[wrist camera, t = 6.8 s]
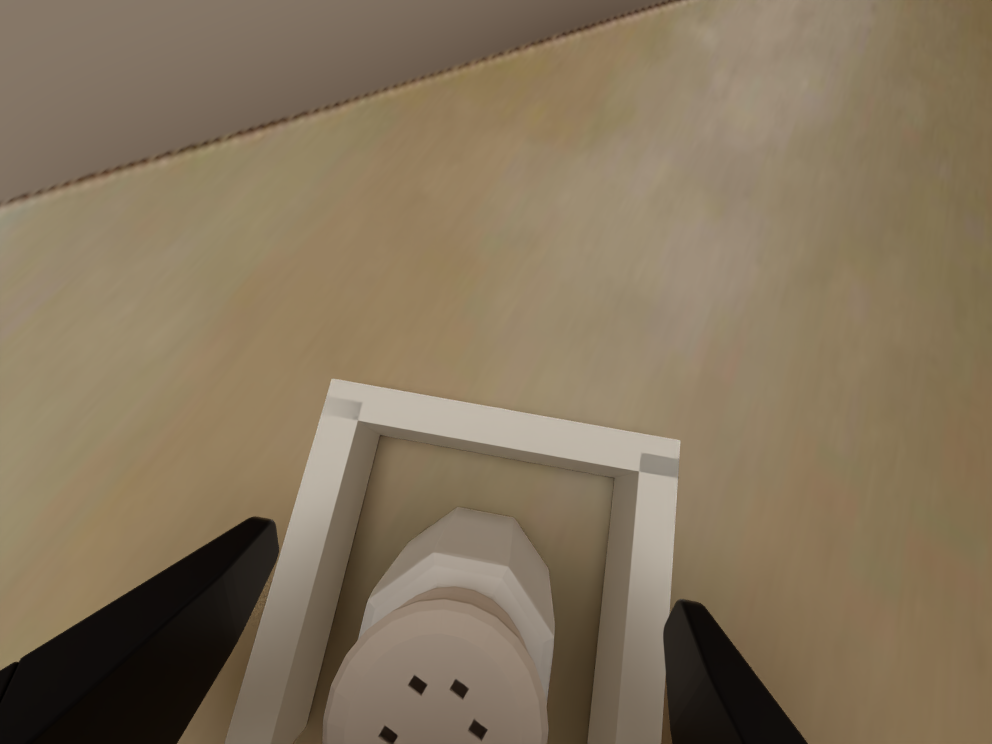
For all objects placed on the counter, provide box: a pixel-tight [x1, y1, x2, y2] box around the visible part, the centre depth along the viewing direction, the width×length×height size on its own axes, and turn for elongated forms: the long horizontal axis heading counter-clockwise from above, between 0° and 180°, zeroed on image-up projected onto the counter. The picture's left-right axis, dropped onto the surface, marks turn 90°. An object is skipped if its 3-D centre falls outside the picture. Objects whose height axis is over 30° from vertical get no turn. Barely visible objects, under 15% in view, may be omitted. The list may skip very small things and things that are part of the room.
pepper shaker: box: [323, 507, 555, 744], centre depth 11 cm, size 5×5×11 cm
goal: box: [224, 379, 680, 744], centre depth 15 cm, size 11×11×3 cm
